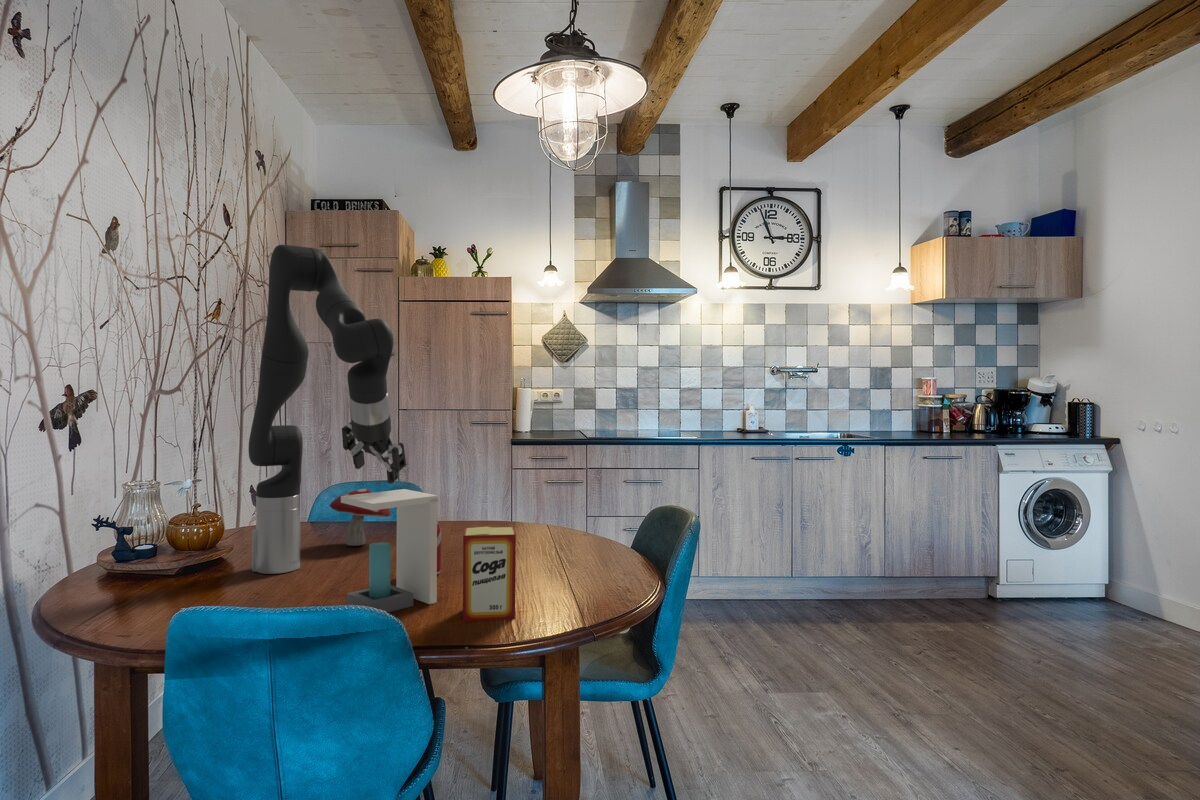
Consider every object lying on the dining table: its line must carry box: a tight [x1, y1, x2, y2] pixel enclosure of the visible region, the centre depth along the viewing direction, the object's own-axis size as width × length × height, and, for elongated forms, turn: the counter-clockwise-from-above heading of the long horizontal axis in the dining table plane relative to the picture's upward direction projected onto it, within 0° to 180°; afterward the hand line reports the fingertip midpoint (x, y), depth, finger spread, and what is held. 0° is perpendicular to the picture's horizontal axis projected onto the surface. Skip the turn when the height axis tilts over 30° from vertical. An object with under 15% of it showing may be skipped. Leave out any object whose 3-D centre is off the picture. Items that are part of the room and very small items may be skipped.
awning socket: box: [340, 488, 439, 613], centre depth 136 cm, size 14×12×21 cm
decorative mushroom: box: [329, 488, 392, 547], centre depth 185 cm, size 16×16×15 cm
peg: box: [368, 541, 392, 600], centre depth 134 cm, size 4×4×12 cm
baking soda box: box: [462, 526, 517, 622], centre depth 130 cm, size 10×6×16 cm
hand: (376, 473), depth 146 cm, fingers open, 8 cm apart
